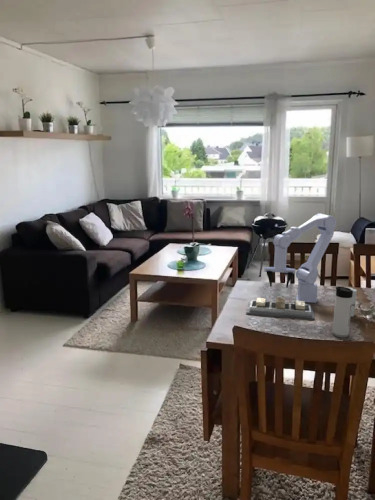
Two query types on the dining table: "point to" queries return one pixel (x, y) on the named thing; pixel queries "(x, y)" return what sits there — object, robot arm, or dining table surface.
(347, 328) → the travel mug
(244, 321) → the dining table surface
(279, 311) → the rail
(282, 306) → the birch block
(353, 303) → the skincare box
